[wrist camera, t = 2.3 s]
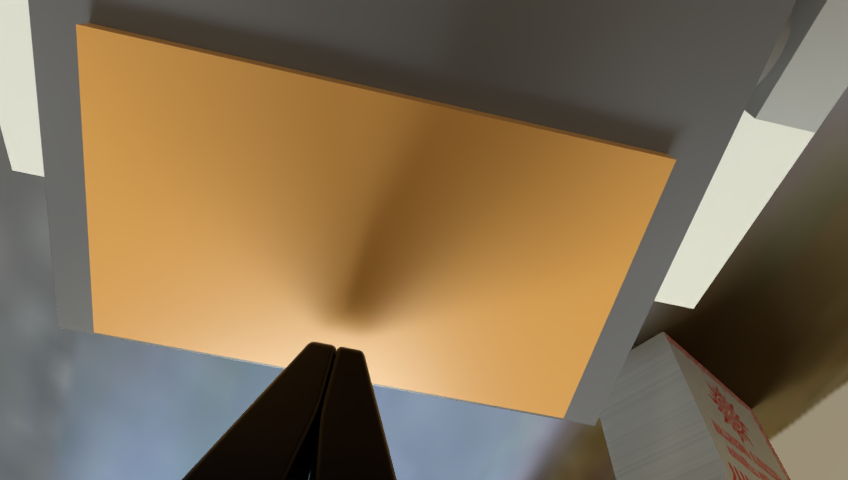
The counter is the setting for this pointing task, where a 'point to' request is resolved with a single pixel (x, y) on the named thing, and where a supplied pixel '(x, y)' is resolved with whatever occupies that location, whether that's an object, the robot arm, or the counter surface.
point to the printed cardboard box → (681, 422)
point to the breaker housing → (725, 196)
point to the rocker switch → (389, 177)
